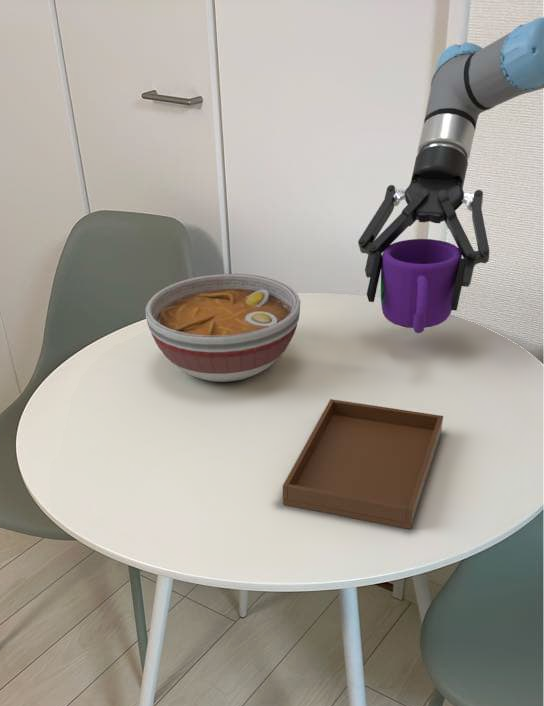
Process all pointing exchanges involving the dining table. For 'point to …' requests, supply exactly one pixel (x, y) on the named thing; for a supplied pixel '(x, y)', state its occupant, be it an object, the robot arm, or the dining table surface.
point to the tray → (365, 463)
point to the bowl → (223, 324)
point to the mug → (418, 282)
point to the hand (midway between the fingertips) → (411, 302)
